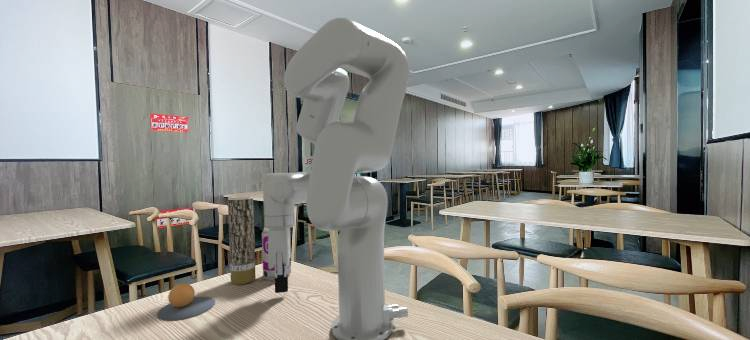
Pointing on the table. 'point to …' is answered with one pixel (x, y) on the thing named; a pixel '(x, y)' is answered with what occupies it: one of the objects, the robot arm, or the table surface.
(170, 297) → the ball
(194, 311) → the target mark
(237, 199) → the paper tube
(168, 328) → the table surface
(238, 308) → the table surface
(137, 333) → the table surface
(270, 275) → the supplement can
